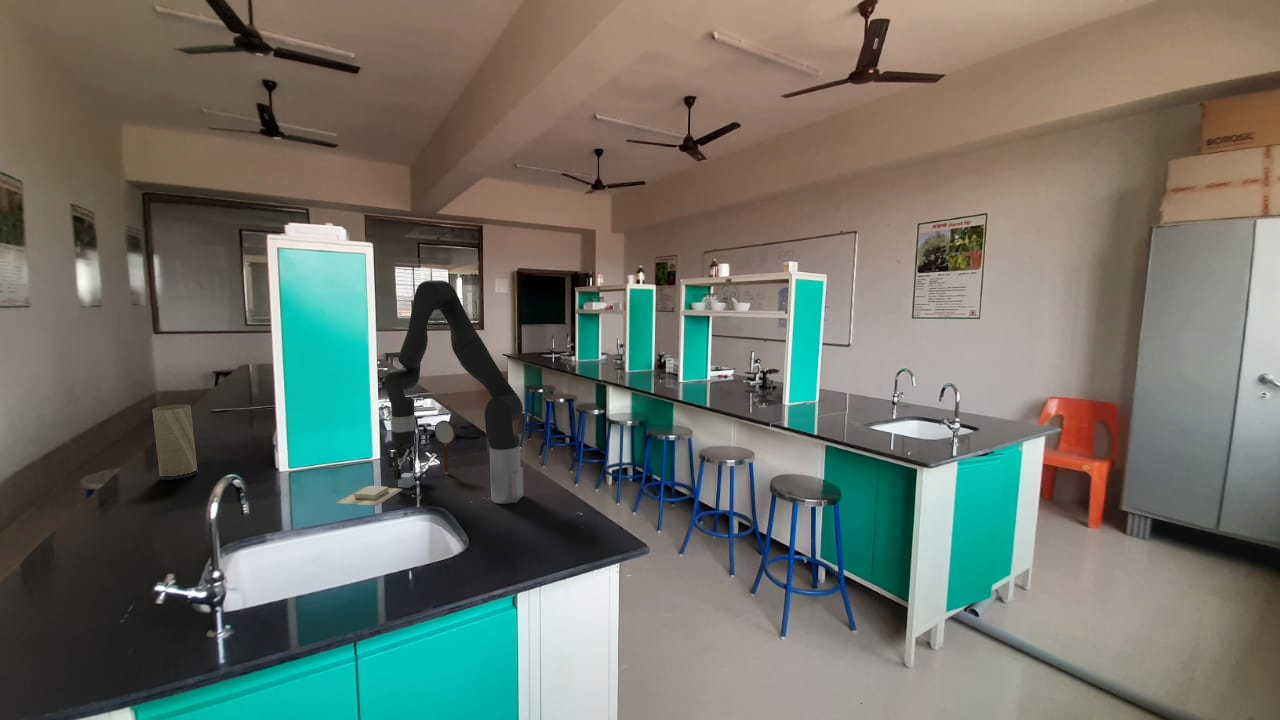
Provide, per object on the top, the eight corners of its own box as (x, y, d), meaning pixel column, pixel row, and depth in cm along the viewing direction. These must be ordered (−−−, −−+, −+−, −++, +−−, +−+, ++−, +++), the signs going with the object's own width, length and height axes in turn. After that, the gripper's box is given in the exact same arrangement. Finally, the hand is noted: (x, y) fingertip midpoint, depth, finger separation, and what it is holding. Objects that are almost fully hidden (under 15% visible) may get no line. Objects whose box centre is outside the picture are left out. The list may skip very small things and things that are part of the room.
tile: (388, 486, 169) (374, 494, 162) (388, 491, 169) (374, 499, 162) (368, 485, 170) (354, 493, 163) (369, 490, 170) (354, 498, 163)
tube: (152, 480, 180) (143, 410, 177) (178, 471, 190) (171, 404, 187) (179, 481, 179) (172, 410, 177) (204, 471, 189) (198, 404, 186)
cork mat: (403, 490, 171) (403, 488, 171) (376, 506, 157) (376, 505, 157) (365, 487, 173) (365, 486, 173) (335, 504, 159) (334, 503, 159)
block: (416, 484, 176) (415, 473, 176) (409, 489, 173) (408, 477, 172) (405, 484, 177) (404, 472, 177) (398, 488, 173) (397, 476, 173)
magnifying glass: (458, 475, 185) (456, 420, 183) (455, 476, 184) (452, 421, 181) (438, 472, 188) (436, 419, 186) (435, 474, 187) (432, 420, 184)
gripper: (401, 434, 165) (403, 483, 167) (425, 423, 179) (427, 468, 181) (379, 433, 166) (382, 481, 168) (405, 422, 180) (407, 467, 182)
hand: (405, 475), depth 174 cm, fingers open, 8 cm apart
